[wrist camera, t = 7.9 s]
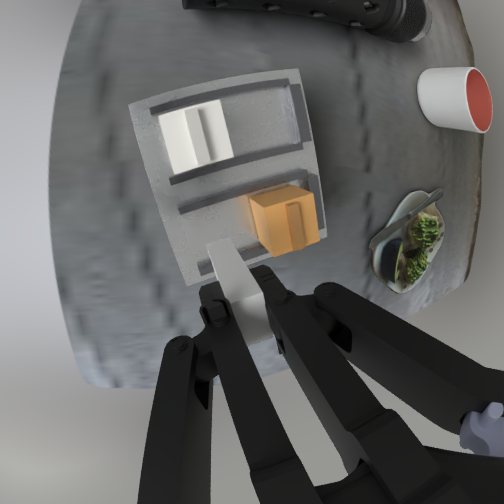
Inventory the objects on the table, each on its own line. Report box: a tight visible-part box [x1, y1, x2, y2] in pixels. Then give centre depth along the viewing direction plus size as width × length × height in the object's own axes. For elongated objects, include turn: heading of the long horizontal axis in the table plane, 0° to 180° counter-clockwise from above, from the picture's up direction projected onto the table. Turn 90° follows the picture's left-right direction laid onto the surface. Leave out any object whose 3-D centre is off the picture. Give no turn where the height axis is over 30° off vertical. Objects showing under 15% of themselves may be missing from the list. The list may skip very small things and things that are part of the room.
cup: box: [417, 67, 493, 133], centre depth 29 cm, size 10×10×10 cm
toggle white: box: [158, 99, 234, 175], centre depth 18 cm, size 4×4×4 cm
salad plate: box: [368, 188, 444, 294], centre depth 40 cm, size 19×18×5 cm
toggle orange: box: [249, 185, 320, 257], centre depth 22 cm, size 4×4×4 cm
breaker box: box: [128, 69, 327, 286], centre depth 25 cm, size 14×16×9 cm
